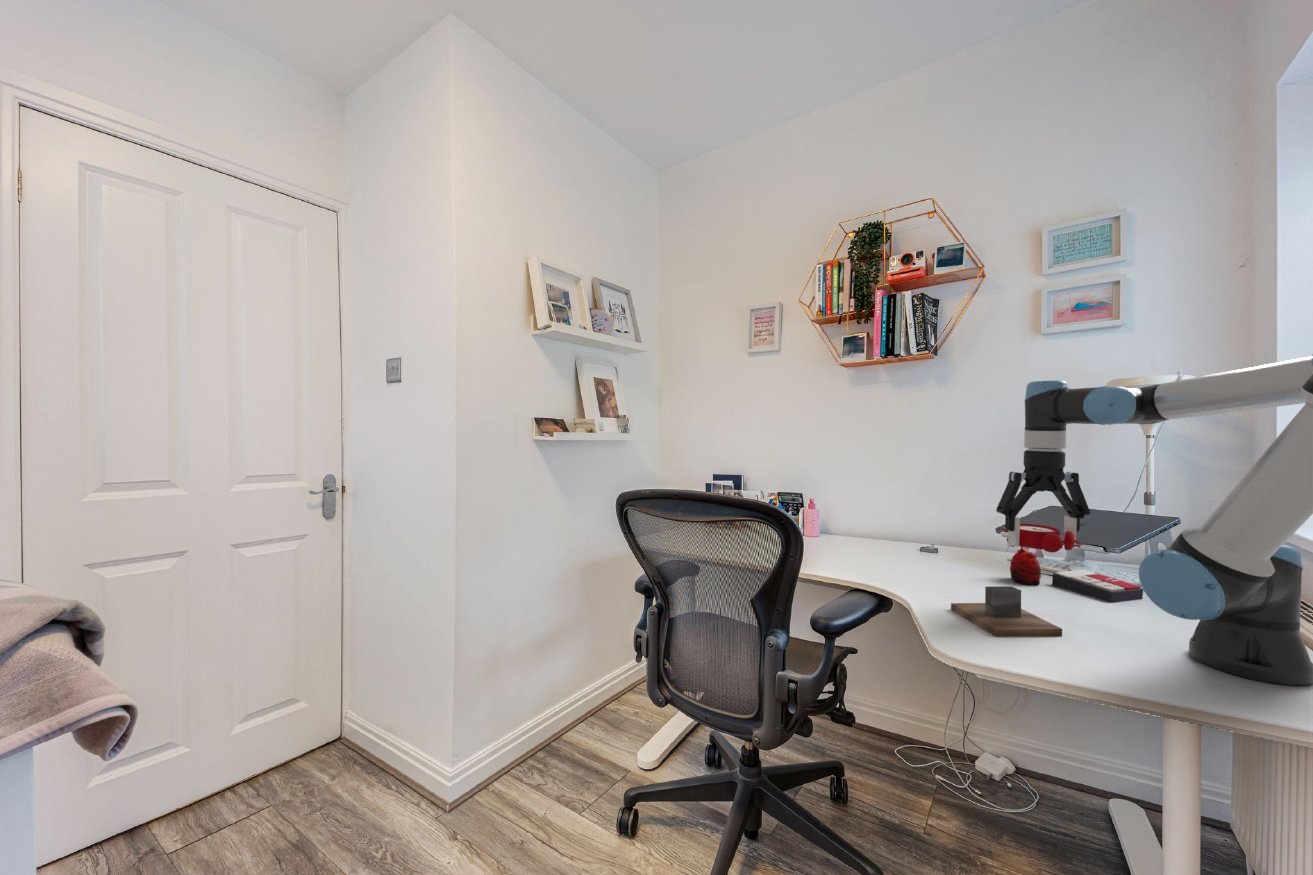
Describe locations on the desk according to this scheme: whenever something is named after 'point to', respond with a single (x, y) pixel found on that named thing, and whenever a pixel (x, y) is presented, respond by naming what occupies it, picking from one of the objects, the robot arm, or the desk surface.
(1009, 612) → the stand
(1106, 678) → the desk surface
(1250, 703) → the desk surface
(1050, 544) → the alarm clock
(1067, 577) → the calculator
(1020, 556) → the red clay folk toy
